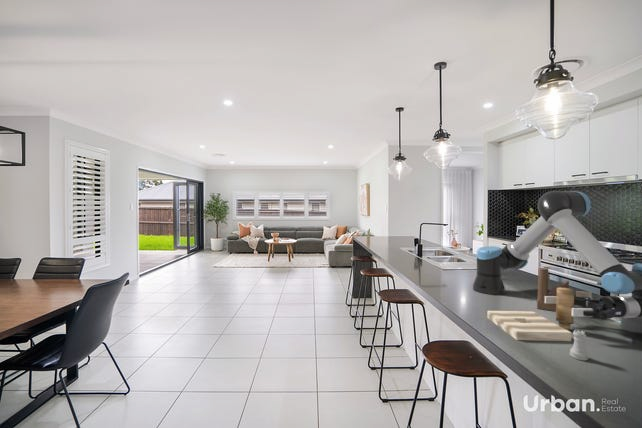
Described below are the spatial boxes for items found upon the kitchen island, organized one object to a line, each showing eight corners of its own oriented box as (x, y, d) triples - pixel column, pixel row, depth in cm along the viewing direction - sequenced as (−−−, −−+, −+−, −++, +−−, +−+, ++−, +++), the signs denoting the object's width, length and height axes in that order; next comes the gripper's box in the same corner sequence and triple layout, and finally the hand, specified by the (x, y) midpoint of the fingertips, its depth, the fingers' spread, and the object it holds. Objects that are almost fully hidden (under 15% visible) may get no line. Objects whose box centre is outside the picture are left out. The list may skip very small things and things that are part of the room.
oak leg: (552, 326, 114) (553, 287, 114) (566, 326, 114) (567, 287, 113) (562, 332, 109) (563, 291, 108) (577, 332, 109) (578, 291, 108)
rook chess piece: (565, 354, 93) (566, 328, 93) (578, 353, 93) (579, 328, 93) (579, 361, 89) (579, 334, 88) (592, 360, 89) (593, 334, 89)
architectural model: (594, 311, 131) (595, 294, 131) (574, 308, 135) (574, 292, 135) (592, 309, 134) (592, 292, 134) (572, 306, 138) (572, 290, 138)
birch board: (487, 317, 123) (487, 310, 123) (532, 318, 122) (533, 311, 122) (516, 339, 103) (516, 331, 103) (571, 341, 102) (571, 332, 102)
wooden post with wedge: (568, 313, 127) (569, 271, 127) (537, 308, 133) (538, 268, 133) (567, 311, 130) (568, 270, 130) (536, 306, 136) (537, 267, 136)
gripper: (653, 331, 98) (585, 329, 99) (589, 305, 123) (535, 304, 124) (654, 308, 97) (586, 307, 99) (589, 287, 122) (535, 286, 123)
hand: (557, 305), depth 111 cm, fingers open, 13 cm apart
